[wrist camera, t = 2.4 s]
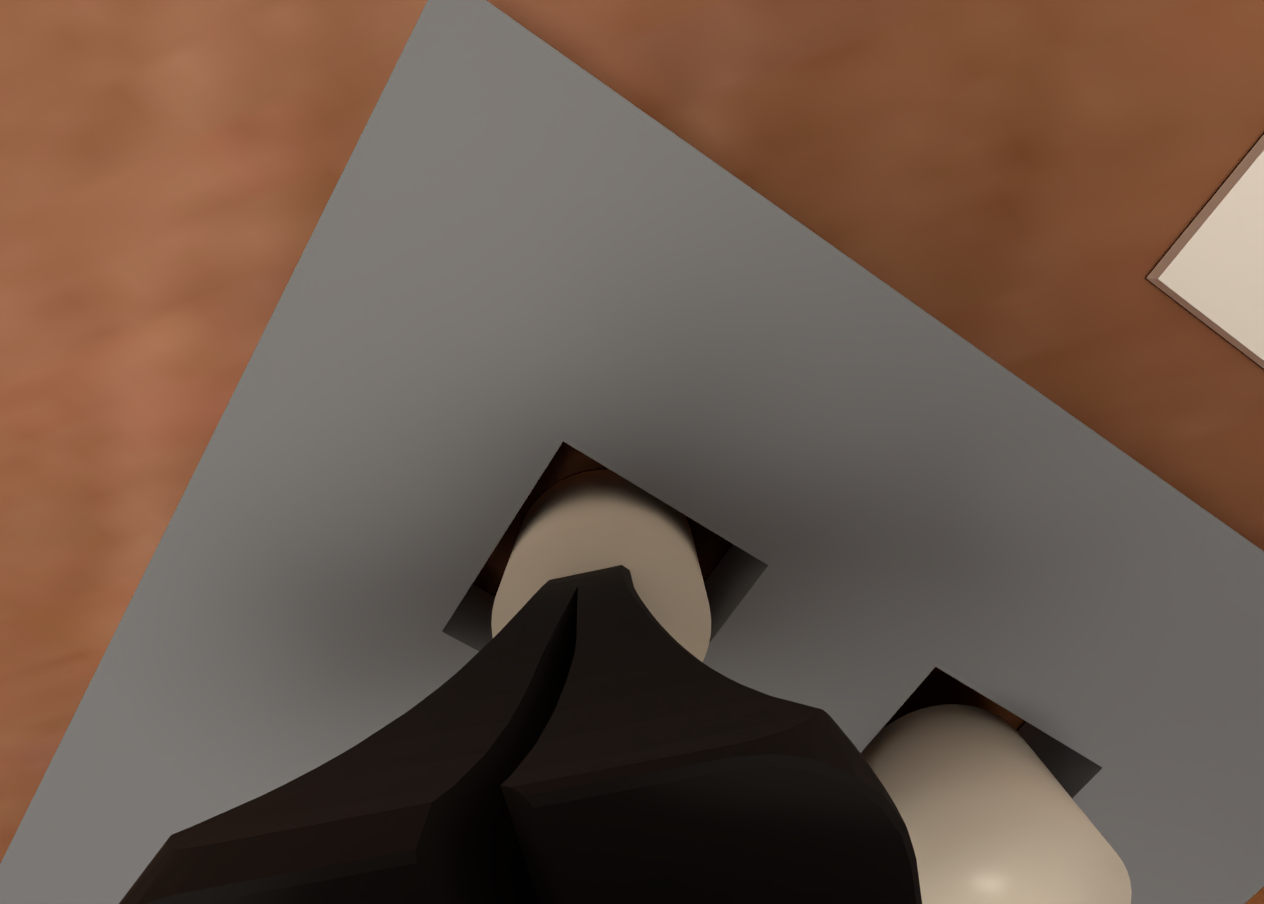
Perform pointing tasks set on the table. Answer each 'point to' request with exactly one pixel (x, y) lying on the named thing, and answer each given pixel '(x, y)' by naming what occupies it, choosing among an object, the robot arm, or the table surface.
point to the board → (662, 466)
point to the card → (1224, 260)
